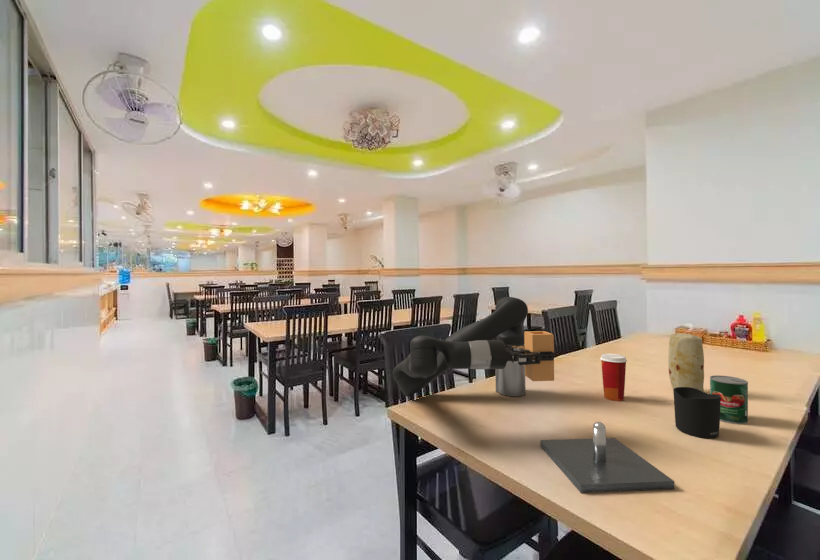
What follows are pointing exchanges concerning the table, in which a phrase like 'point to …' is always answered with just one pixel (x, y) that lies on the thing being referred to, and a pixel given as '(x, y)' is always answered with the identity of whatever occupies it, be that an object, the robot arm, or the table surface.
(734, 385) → the canned tomato
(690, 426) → the pen holder
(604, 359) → the paper cup
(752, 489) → the table surface
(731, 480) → the table surface
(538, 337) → the tan rectangular holder
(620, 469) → the shaft stand
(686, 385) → the food model
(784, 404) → the table surface
